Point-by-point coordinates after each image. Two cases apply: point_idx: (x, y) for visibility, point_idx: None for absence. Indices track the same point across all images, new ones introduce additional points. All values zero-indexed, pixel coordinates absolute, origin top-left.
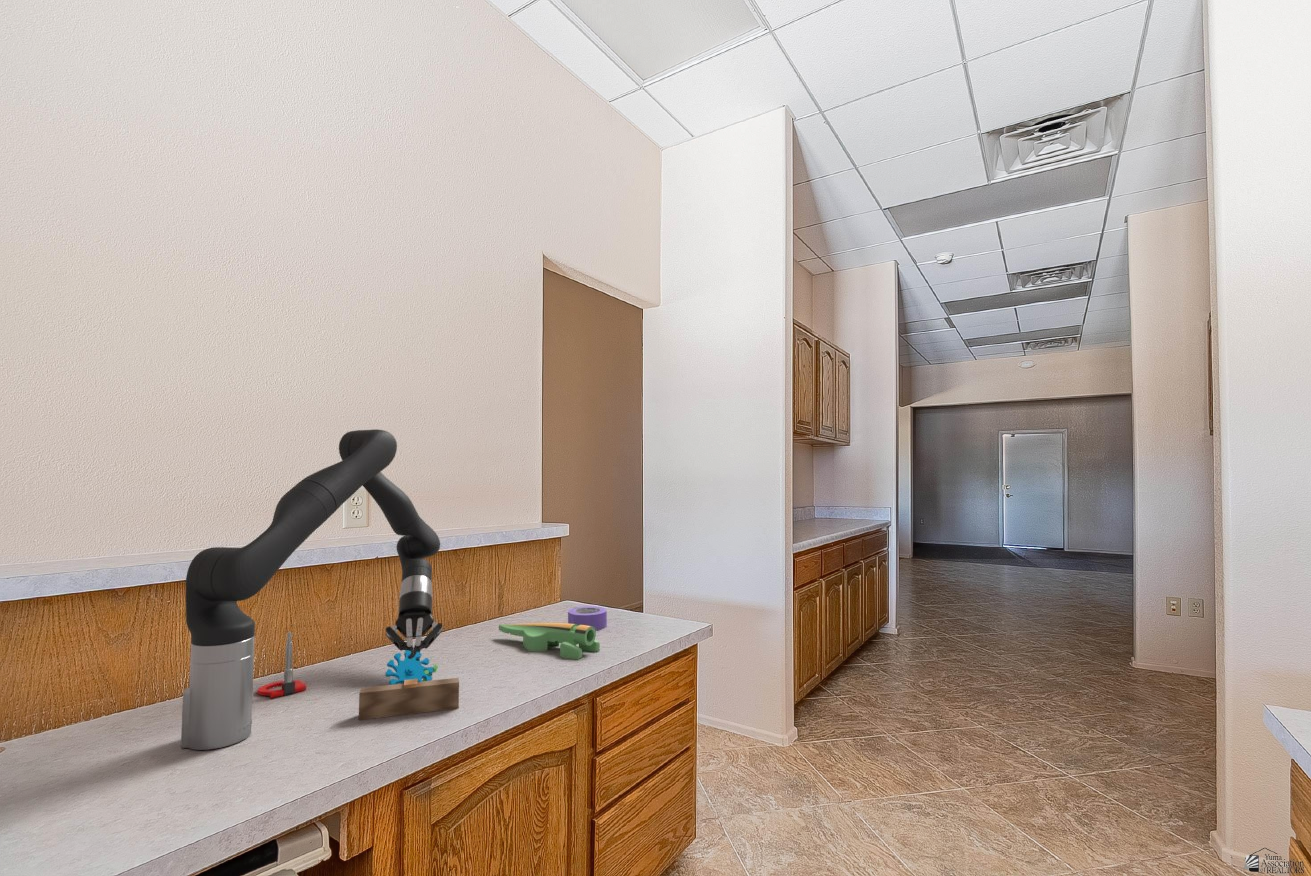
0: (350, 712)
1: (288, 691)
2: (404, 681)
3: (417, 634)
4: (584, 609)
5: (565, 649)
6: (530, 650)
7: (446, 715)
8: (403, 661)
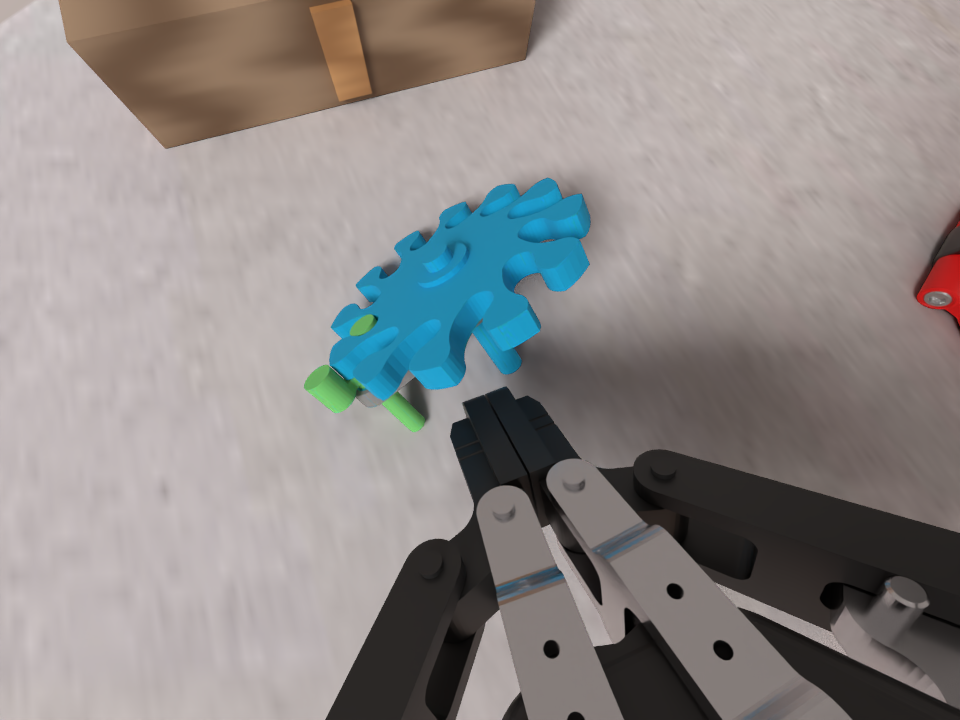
0: (571, 77)
1: (953, 235)
2: None
3: (546, 583)
4: None
5: None
6: None
7: None
8: (501, 260)
